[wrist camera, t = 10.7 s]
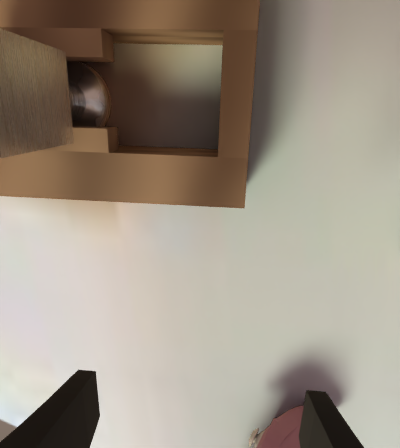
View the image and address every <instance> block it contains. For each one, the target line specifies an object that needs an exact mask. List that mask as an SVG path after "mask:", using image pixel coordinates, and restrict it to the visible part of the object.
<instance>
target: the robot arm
mask: <svg viewBox="0 0 400 448" xmlns="http://www.w3.org/2000/svg"><path fill="white" fill-rule="evenodd" d="M99 417H100V412H99V402H98V391H97V381H96V371H85V370H78V371H77V372H76V373H75V374H74V375H72V376H71V377H70V378H69V379H68V380H67V381H66V382H65V383H64V384H63V385H62V386H61V387H60V388H59V389H58V390H57V391H56V392H55V393H54V394H53V395H52V396H51V397H50V398H49V399H48V400H47V401H46V402H45V403H43V404H42V405H41V406H40V407H39V408H38V409H37V410H36V411H35V412H34V413H33V414H32V415H30V416H29V417H28V418H27V419H26V420H25V421H24V422H23V423H22V424H21V425H19V426H18V427H17V428H16V429H15V430H14V431H13V432H11V433H10V434H9V435H8V436H7V437H6V438H4V439H3V440H2V441H1V442H0V448H90V445H91V442H92V439H93V436H94V433H95V430H96V427H97V423H98V420H99ZM299 442H300V448H364V447H363V445H362V444H361V443H360V441H359V440H358V439H357V437H356V436H355V434H354V433H353V431H352V430H351V429H350V427H349V426H348V424H347V423H346V421H345V420H344V418H343V417H342V415H341V414H340V412H339V411H338V409H337V408H336V406H335V405H334V403H333V402H332V400H331V399H330V397H329V396H328V394H327V393H326V392H321V391H309V390H306V396H305V402H304V408H303V413H302V419H301V425H300V431H299Z"/></svg>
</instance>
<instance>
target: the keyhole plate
mask: <svg viewBox="0 0 400 448" xmlns="http://www.w3.org/2000/svg"><path fill="white" fill-rule="evenodd" d="M259 7H260V0H0V28H1V29H3V30H6V31H9V32H12V33H15V34H17V35H20V36H23V37H26V38H29V39H31V40H34V41H37V42H40V43H42V44H45V45H48V46H51V47H54V48H56V49H59V50H62V51H65V53H66V61H90V62H114V51H113V43H135V44H202V45H223V53H222V75H221V98H220V120H219V142H218V149H200V148H173V147H147V146H120V145H118V127H95V126H73V136H74V143H72V144H68V145H63V146H58V147H53V148H48V149H44V150H39V151H34V152H29V153H24V154H20V155H15V156H10V157H5V158H0V196H12V197H32V198H51V199H71V200H91V201H111V202H130V203H150V204H170V205H190V206H209V207H229V208H244V207H245V193H246V180H247V167H248V154H249V140H250V127H251V114H252V100H253V87H254V74H255V60H256V47H257V34H258V20H259Z"/></svg>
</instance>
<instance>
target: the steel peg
mask: <svg viewBox="0 0 400 448" xmlns="http://www.w3.org/2000/svg"><path fill="white" fill-rule="evenodd" d="M110 111H111V98H110V93H109V90H108V87H107V85H106V83H105V81H104V80H103V78H102V77H101V76H100V75H99V74H98V73H97V72H96V71H95V70H94V69H93V68H91V67H90V66H88V65H86V64H83V63H81V62H78V61H66V53H65V51H62V50H59V49H56V48H54V47H51V46H48V45H45V44H42V43H40V42H37V41H34V40H31V39H29V38H26V37H23V36H20V35H17V34H15V33H12V32H9V31H6V30H3V29H1V28H0V158H5V157H10V156H15V155H20V154H24V153H29V152H34V151H39V150H44V149H48V148H53V147H58V146H63V145H68V144H72V143H74V136H73V126H95V127H104V126H105V124H106V123H107V121H108V118H109V115H110Z"/></svg>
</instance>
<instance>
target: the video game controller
mask: <svg viewBox="0 0 400 448" xmlns="http://www.w3.org/2000/svg"><path fill="white" fill-rule="evenodd" d="M303 408H304V406H298V407H295V408H292V409H290V410H289V411H287V412H285V413H284V414H282V415H281V416H279V417H278V418H276V419H275V418H274V419H273V421H272V423H271V425H270V426H269V427H267V428H266V429H265V431H262V432H261V433H259V434H257V433H258V430H259V428H257V429H255V430H254V431H253V432H252V434H251V436H250V438H249V446H250V447H251V445H252V443H253V442H254V448H300V442H299V431H300V425H301V419H302V413H303Z"/></svg>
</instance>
